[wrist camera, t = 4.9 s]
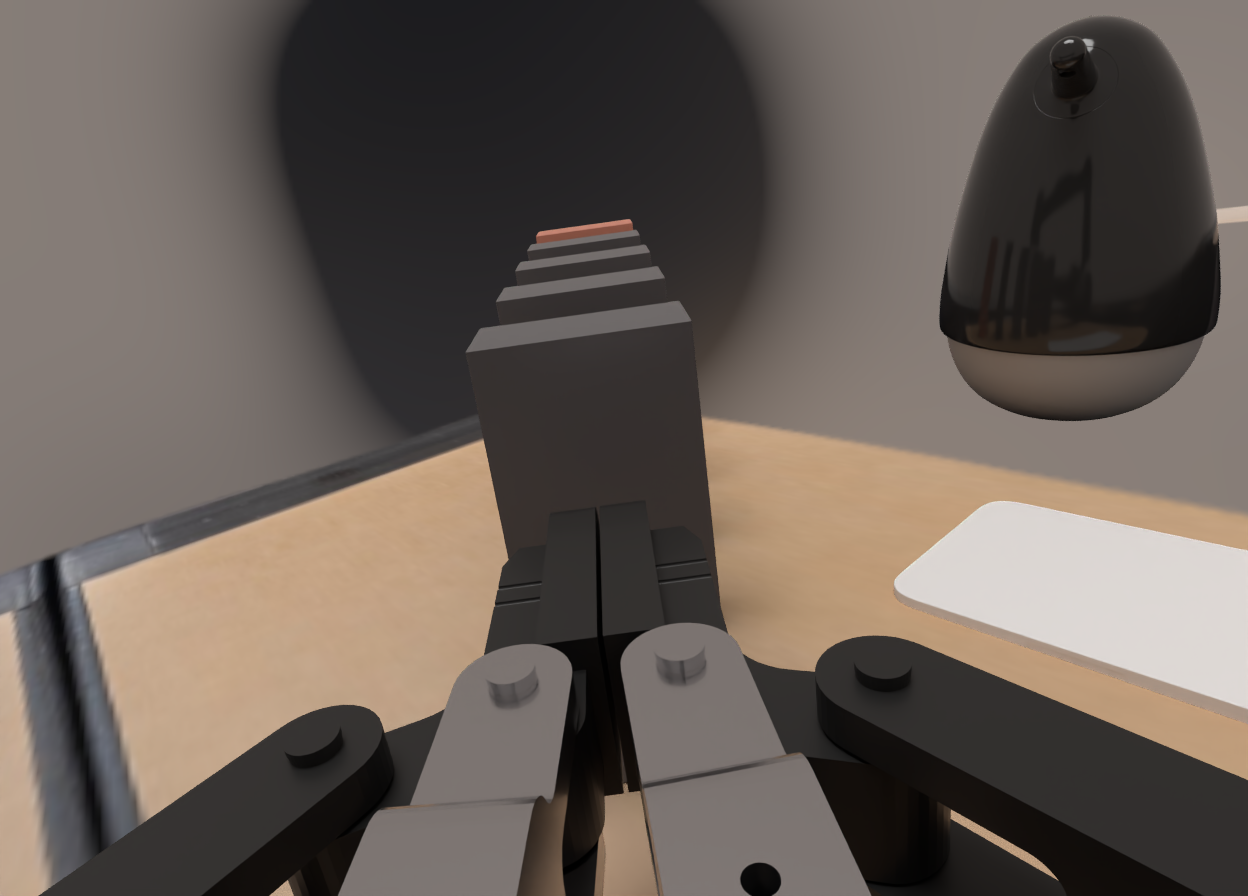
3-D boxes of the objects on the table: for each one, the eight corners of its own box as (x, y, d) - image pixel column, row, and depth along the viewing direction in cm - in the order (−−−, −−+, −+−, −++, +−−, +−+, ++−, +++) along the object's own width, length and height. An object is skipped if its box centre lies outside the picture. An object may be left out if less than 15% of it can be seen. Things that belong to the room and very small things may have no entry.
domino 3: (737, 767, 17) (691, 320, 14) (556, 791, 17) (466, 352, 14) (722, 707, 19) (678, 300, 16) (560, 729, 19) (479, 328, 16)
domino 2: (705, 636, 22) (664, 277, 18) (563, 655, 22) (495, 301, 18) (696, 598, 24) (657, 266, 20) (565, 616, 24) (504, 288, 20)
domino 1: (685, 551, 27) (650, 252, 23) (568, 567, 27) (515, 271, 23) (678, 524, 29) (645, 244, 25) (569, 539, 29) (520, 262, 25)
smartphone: (992, 495, 27) (1730, 651, 16) (992, 515, 27) (1717, 681, 16) (880, 589, 23) (1793, 889, 12) (881, 612, 23) (1773, 924, 12)
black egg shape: (908, 432, 34) (907, 39, 28) (968, 363, 41) (976, 44, 36) (1201, 459, 28) (1270, -29, 23) (1207, 373, 36) (1260, -7, 30)
